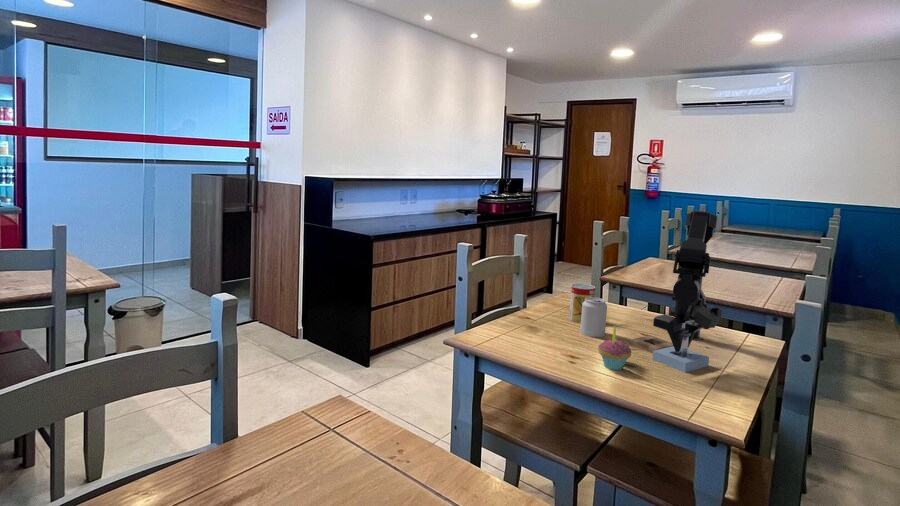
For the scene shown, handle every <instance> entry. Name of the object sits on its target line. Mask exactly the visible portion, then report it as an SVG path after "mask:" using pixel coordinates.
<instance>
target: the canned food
mask: <svg viewBox="0 0 900 506" xmlns="http://www.w3.org/2000/svg"><path fill="white" fill-rule="evenodd" d="M595 296H596V286H595V285H592V284H588V283H573V284H571V290H570V303H569V315H568V319H569V320H570V321H572V322H574V323H580V324H581V314H582V303H583V302H584V301H585V298H589V297H594V298H595Z"/></svg>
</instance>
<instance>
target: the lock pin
mask: <svg viewBox="0 0 900 506" xmlns="http://www.w3.org/2000/svg"><path fill="white" fill-rule="evenodd" d="M689 336H691V332H690V331H687V332H686V333H684V335H683V340H682V344H681V348H680V351H679V352H677V351H675V355H677V356H679V357H682V358H684V357H687V349H688V350H689V347H688V341H689Z"/></svg>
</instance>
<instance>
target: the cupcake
mask: <svg viewBox="0 0 900 506" xmlns="http://www.w3.org/2000/svg"><path fill="white" fill-rule="evenodd" d="M616 331H617V328H616V325H615V324H613V328H612V339H608V340H607V339H606V340H604V341H602V342H601V343H600V344H598V347H597V351H598V353H599V355H600V356H601V359H602V362H603V366H604V367H605V368H607V369H609V370H613V371H621V370H623V368H624V366H625V364H626V362H627V360H628V359H629V358H630V357H631V356H632V350H631V349H632V348H631V347H630V345H628V344H626V343H625V342H623V341H621V340H618V339H616V333H617V332H616Z"/></svg>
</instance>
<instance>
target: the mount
mask: <svg viewBox="0 0 900 506" xmlns="http://www.w3.org/2000/svg"><path fill="white" fill-rule="evenodd" d="M630 345H631V346H633V347H635V348H638V349H641V350H643V351H646V352H649V353H650V354H651V353H652V354H653V351H654V350H659V349H663V348H668V347H672V346H673V343H672V341H668V340H665V339H662V338H659V337H656V336H653V335H650V334H649V335H645V336H641V337H640V336H639V337H636V338H632V339H631V338H630V339H629V346H630Z"/></svg>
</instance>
